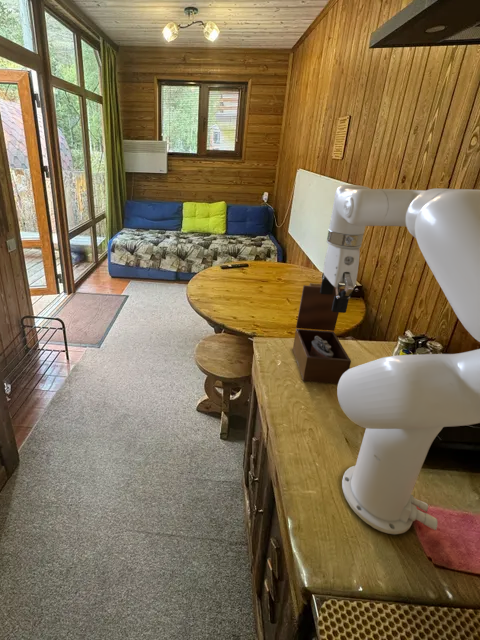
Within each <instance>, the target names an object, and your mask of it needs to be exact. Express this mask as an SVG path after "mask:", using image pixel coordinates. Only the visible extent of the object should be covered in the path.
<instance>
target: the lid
mask: <svg viewBox="0 0 480 640" xmlns="http://www.w3.org/2000/svg"><path fill="white" fill-rule="evenodd" d="M321 284H322V283H314V282H313V283H312V282H310V283H309V285H306V284H304V285H303V287H302V292H301V297H300V302H299V303H300V304H299V307H298V308H299V310H298V313H297V314H298V315H297V319H296V325H295V329H307V330H320V331H333V332H335V330H336V325H337V323H338V318H339V314H340V313H339V312H333V311H332V305H333V300H334V296H336V288H335V287H334V290H333V294H332V295H329V294H321V293H320V289H321ZM343 290H345V289H343V288H340V292H342V291H343Z"/></svg>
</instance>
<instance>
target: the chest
mask: <svg viewBox="0 0 480 640" xmlns="http://www.w3.org/2000/svg"><path fill="white" fill-rule="evenodd" d="M315 336H319V337H320V338H321V339H322V340H324V341H327V342H328V344H329V345H330V346H331V349H330V350H331V351H332V352H333V357H332V358H326V357H314V356H310V352H311V347H312V341H313V340H315ZM293 339H294V340H293V346H292V353H293V355H294V359H295V361H296V363H297V368H298V371H299V373H300V377H301V379H302V381H303V382H307V383H309V382H310V383H319V384H329V385H330V384H331V385H338V383H339V380H340V378H341V376H342V375H343V373H344V372H346V371H347V370H349V369H351V363H352V360H351V358H350V356H349V355H348V354H347V351H346V350H345V348H344V346H343V345H342V343H341V342H340V339H339V338H338V336H337V335H336V332H335V331H328V330H315V329H302V328H295V332H294V338H293Z"/></svg>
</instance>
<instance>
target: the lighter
mask: <svg viewBox="0 0 480 640" xmlns="http://www.w3.org/2000/svg"><path fill="white" fill-rule="evenodd" d="M330 349H331V346H330V345H329V344H328V342H327V341H324V340H322V339H321V338H320V337H319V336H315V340H313V341H312V347H311V352H310V356H314V357H326V358H332V357H333V352H332V351H331V350H330Z"/></svg>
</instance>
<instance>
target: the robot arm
mask: <svg viewBox="0 0 480 640" xmlns="http://www.w3.org/2000/svg"><path fill="white" fill-rule="evenodd" d="M330 215H331V216H330V222H329V227H328V231H327V238H326V244H327V249H326V253H325V257H324V263H323V268H322V269H323V270H322V271H323V275H322V277H321V279H322V280H321V283H320V284H321V289H320V293H321V294H329V295H332V294H333V290H334V287H335V288H336V296H334V300H333V305H332V311H333V312H339V314H341V313H342V314H345V313H347V310H348V304H349V301H350V299H351V296H352V295H353V291H354V290H355V287H356V284H357V279H358V274H359V266H360V257H361V256H360V255H361V253H360V252H361V251H360V249H361V248H362V244H363V239H364V236H365V231H366V227H406V229H407V231H408V233H409V234H410V235H411V236H412V237H413V238H414V239H416V242H417V246H418V248H419V250H420V252H421V254H422V256H423V258H424V261H425V262H426V264H427V265H428V267H429V269H430V271H431V272H432V274H433V277H434V278H435V279H436V281H437V283H438V285H439V287H440V289H441V291H442V292H443V294H444V296H445V298H446V299H447V302H448V303H449V305H450V307H451V308H452V310H453V312H454V314H455V315H456V317H457V319H458V320H459V321H460V323H461V325H462V326H463V327H464V329H465V330H466V331H467V332H468V334H470V335H471V336H472V338H474V339H475V341H477V342H479V343H480V189H471V188H469V189H465V188H442V187H441V188H440V187H438V188H437V187H435V188H429V189H426V190H425V189H424V190H423V189H400V188H395V189H394V188H370V187H368V186H364V185H360V184H359V185H357V184H343V185H340V186H338V187H337V188H336V190H335V193H334V198H333V205H332V211H331V214H330ZM340 288H343V289H344V290H343V291H342V292H340ZM336 395H337V396H336V397H337V400H338V404H339V407H340V408H341V410H342V411H343V413H344V414H345V416H346V417H347V418H348V419H349V420H350V421H351V422H352V423H354V424H355V425H357V426H358V427H361V428H363V429H365V430H364V434H363V437H362V441H361V444H360V447H359V452H358V455H357V459H356V463H355V465H353V466H350V467H349V468H347V469H346V470H345V472H344V473H343V476H342V480H341V488H342V493H343V495H344V498H345V500H346V502H347V504H348V505H349V507H350V508H351V509H352V511H353V512H354V514H356V515H357V517H358V518H360V519H361V520H362V521H363V522H364V523H365V524H367V525H368V526H370V527H371V528H372V529H375V530H377V531H379V532H381V533H385V534H389V535H401V534H404V533H407V531H409V530H410V528H411V526H412V524H413V522H415V521H417V522H419V523H421V524H423V525H424V526H426V527H428V528H429V529H432V530H434V531H437V529H438V518H436V517H434V516H432V515H431V514H429V513H428V510H429V504H428V503H427V502H424V501H422V500H421V499H418V498H416V497H414V495H413V494H412V493H413V491H414V488H415V487H416V483H417V480H418V478H419V476H420V473H421V470H422V467H423V465H424V463H425V460H426V458H427V456H428V453H429V450H430V448H431V446H432V444H433V442H434V440H435V439H436V437H437V436H438V435H439V434H440V433H441V431H442V430H443V428H447V427H449V428H450V427H460V426H462V427H463V426H471V425H476V424H480V348H477V349H473V350H469V351H464V352H459V353H426V354H425V353H423V354H421V353H420V354H401V355H400V354H398V355H390V356H383V357H380V358H377V359H374V360H370V361H368V362H365V363H362V364H359V365H355V366H353V367H350V368H349V370H347V371H346V372H344V373H343V375H342V376H341V378H340V380H339V383H338V384H337V389H336ZM419 509H420V510H419ZM423 511H424V512H423ZM426 512H427V513H426Z"/></svg>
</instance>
